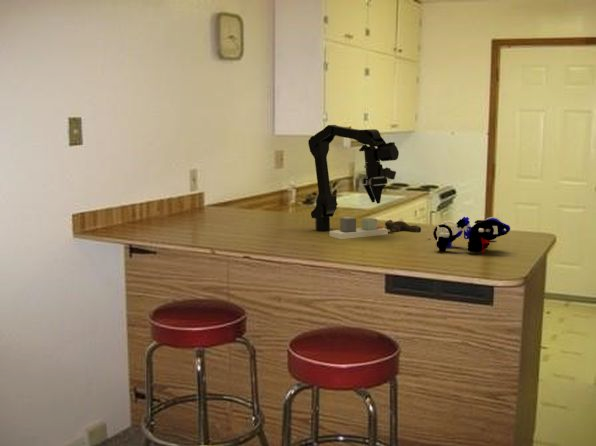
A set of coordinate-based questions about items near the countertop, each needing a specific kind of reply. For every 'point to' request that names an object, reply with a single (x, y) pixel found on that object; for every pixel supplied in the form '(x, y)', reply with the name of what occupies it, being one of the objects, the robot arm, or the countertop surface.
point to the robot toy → (470, 233)
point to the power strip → (358, 233)
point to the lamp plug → (369, 224)
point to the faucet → (401, 227)
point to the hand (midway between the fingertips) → (375, 202)
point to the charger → (347, 224)
